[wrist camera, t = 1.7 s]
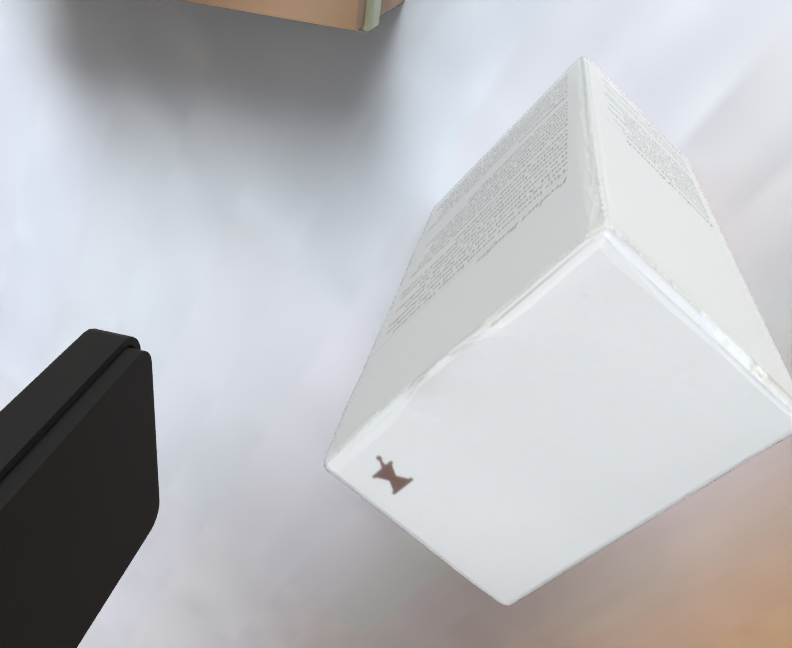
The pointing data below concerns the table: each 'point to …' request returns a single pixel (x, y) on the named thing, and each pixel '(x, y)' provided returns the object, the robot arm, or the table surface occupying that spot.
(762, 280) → the table surface
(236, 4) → the gift box
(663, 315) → the skincare box
